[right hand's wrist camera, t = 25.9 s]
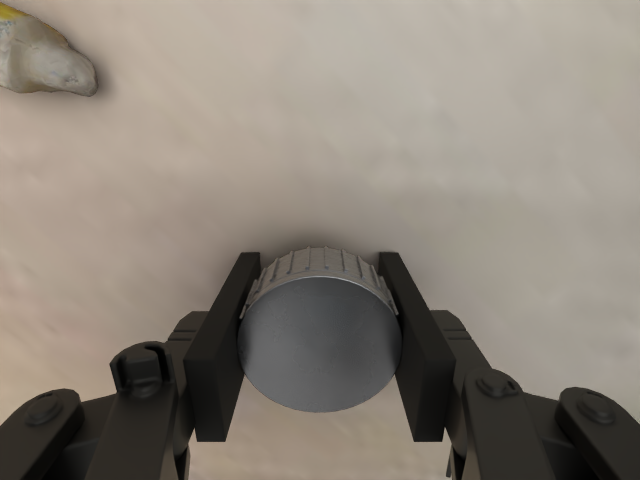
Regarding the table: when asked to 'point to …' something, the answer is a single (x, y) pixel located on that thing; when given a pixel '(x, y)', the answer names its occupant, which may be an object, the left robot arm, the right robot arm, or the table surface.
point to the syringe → (40, 57)
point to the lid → (319, 331)
